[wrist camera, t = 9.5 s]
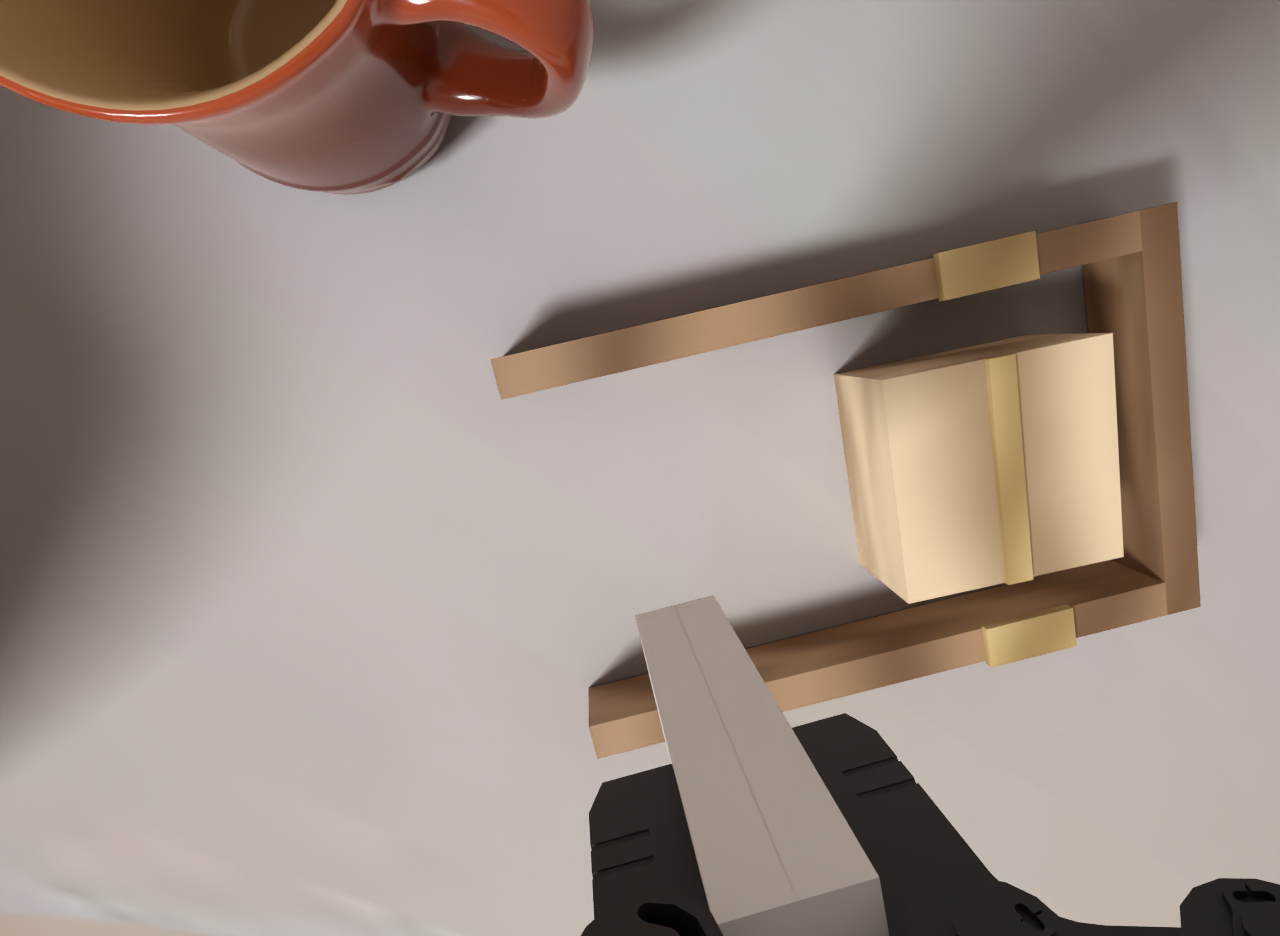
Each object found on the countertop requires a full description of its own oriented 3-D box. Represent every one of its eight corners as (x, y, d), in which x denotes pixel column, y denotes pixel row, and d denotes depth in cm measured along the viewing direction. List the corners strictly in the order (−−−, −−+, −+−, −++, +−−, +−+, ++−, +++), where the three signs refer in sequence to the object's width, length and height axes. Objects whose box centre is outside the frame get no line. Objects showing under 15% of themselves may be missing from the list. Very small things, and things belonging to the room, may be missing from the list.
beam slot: (596, 719, 24) (598, 767, 22) (500, 354, 22) (488, 356, 19) (1140, 583, 25) (1208, 612, 22) (1112, 214, 22) (1185, 196, 20)
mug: (167, 179, 20) (-259, 10, 10) (219, -136, 19) (-214, -700, 9) (552, 295, 21) (522, 252, 11) (627, 12, 20) (666, -320, 10)
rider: (856, 561, 24) (911, 606, 20) (831, 373, 23) (884, 380, 19) (1038, 522, 25) (1128, 558, 20) (1023, 334, 23) (1117, 332, 19)
